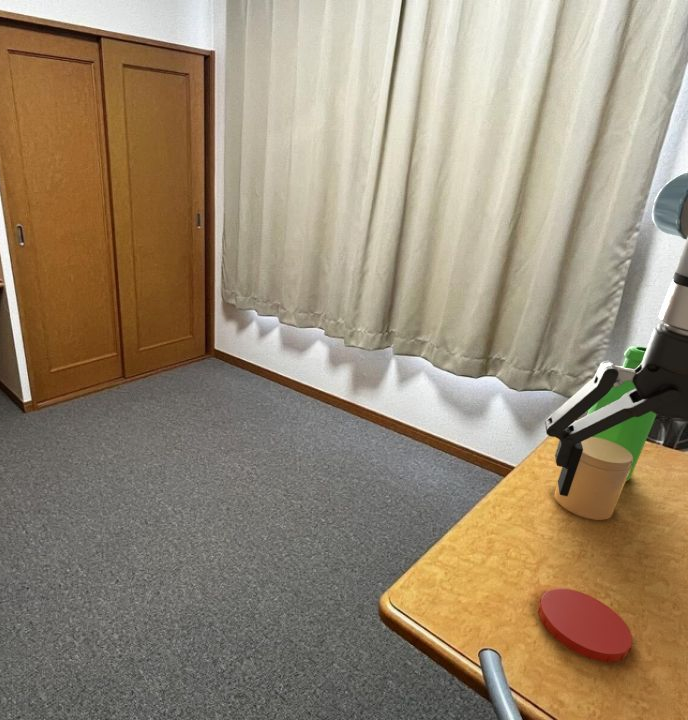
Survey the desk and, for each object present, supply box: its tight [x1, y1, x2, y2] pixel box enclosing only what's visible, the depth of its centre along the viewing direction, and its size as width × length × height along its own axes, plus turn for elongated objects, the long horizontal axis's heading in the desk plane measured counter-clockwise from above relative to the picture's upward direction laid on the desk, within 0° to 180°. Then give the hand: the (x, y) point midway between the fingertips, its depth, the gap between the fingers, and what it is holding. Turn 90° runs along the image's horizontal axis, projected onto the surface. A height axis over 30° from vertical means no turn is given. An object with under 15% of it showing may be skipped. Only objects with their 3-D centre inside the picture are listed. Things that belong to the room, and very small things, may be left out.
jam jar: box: [553, 437, 633, 521], centre depth 79 cm, size 8×8×12 cm
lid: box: [537, 587, 633, 663], centre depth 60 cm, size 9×9×2 cm
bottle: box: [586, 345, 657, 482], centre depth 85 cm, size 9×9×25 cm
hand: (635, 507), depth 53 cm, fingers open, 13 cm apart
